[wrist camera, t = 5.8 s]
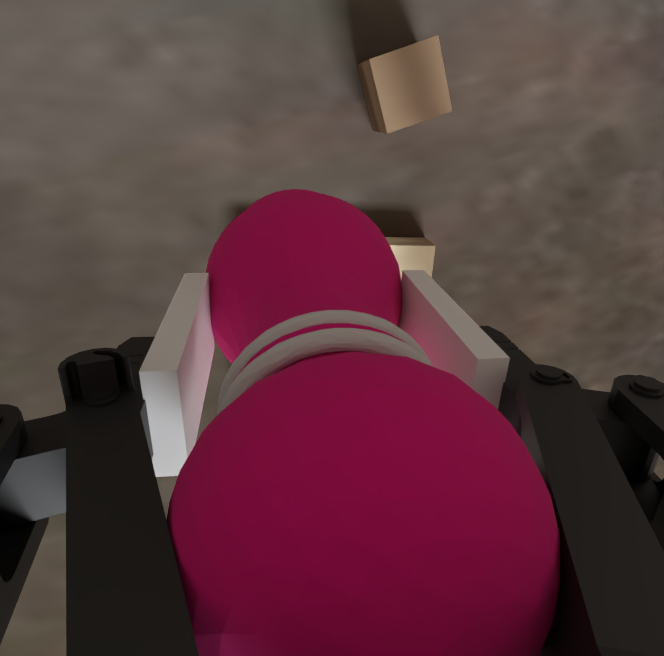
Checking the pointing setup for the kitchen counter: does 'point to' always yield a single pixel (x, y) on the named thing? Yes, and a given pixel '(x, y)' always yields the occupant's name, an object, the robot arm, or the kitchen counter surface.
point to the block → (405, 86)
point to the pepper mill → (350, 465)
